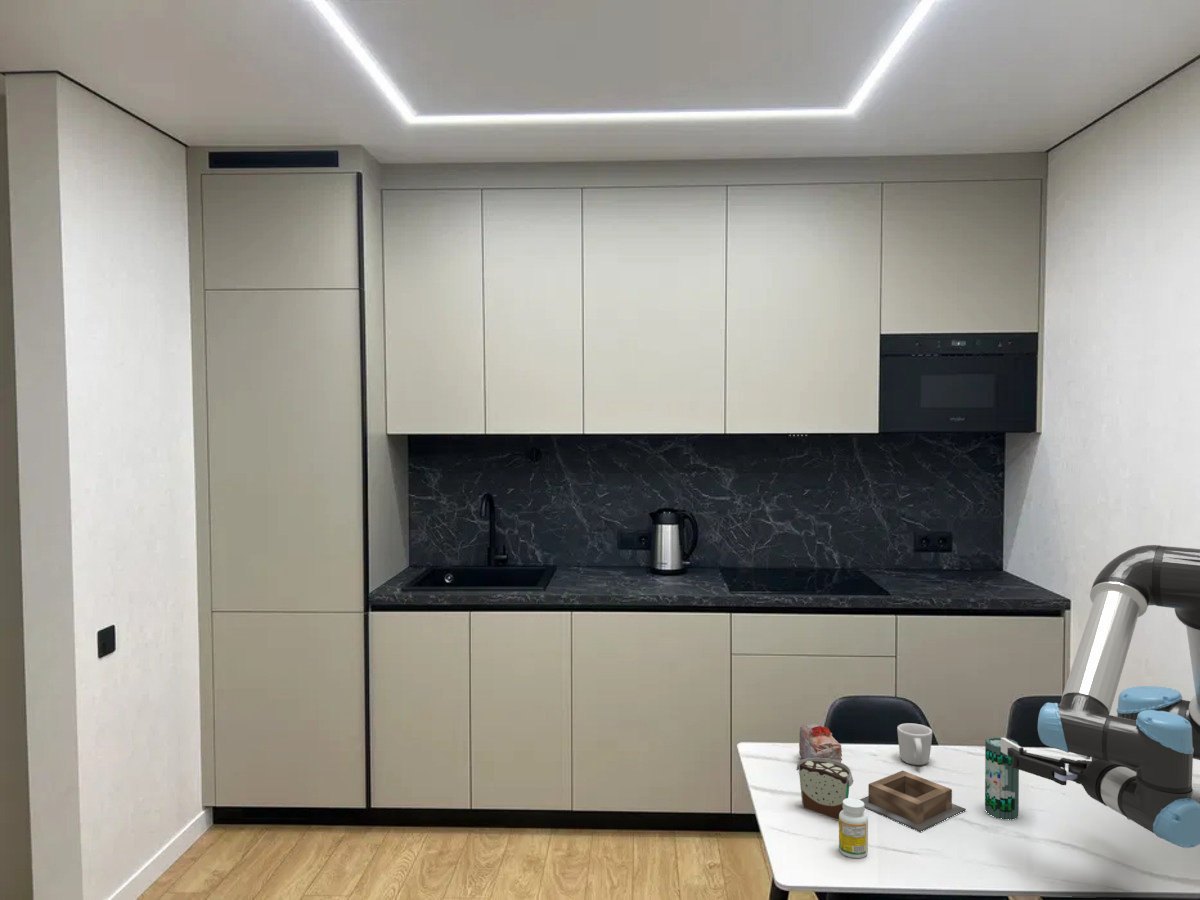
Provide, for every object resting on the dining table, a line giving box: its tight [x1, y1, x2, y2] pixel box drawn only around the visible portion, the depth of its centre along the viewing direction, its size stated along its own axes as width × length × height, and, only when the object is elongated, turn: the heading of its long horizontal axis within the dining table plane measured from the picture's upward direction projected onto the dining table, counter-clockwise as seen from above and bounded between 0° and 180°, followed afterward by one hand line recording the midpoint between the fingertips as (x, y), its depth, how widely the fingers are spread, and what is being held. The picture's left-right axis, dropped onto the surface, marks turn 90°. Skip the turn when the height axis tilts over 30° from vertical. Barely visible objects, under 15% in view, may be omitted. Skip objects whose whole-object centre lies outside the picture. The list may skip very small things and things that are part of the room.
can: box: [984, 736, 1020, 821], centre depth 177 cm, size 6×6×15 cm
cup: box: [896, 722, 933, 766], centre depth 203 cm, size 11×8×8 cm
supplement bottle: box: [838, 797, 869, 859], centre depth 162 cm, size 5×5×10 cm
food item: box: [798, 723, 843, 763], centre depth 202 cm, size 14×8×10 cm, turn 6°
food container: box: [796, 758, 854, 822], centre depth 179 cm, size 12×6×10 cm, turn 47°
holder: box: [859, 770, 967, 833], centre depth 181 cm, size 16×16×4 cm
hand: (1033, 742), depth 167 cm, fingers open, 13 cm apart
